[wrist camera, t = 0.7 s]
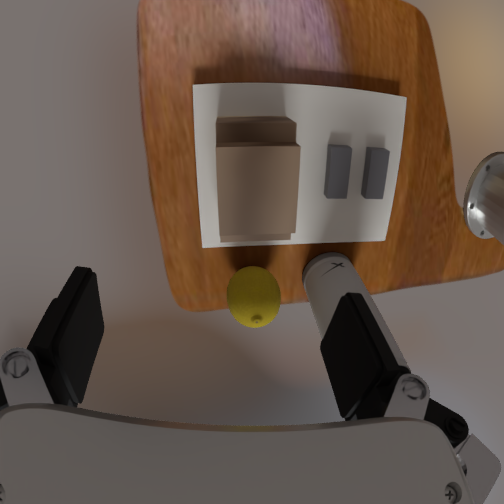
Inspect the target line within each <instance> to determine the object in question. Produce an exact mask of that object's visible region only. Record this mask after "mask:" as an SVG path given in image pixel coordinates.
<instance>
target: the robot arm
mask: <svg viewBox="0 0 504 504" xmlns="http://www.w3.org/2000/svg"><path fill="white" fill-rule="evenodd" d="M464 218H465V222H466V225H467V226H468V228H469V230H470V231H471V232H472V233H474V234H475V235H476V236H477V237H479V238H483V239H488V238H492V237H495V238H496V239H497V240H499V241H500V242H501V243H502V244H503V245H504V152H495V153H492V154H490V155H489V156H487V157H486V158H485V159H483V160H482V161H481V163H480V164H479V165H478V166H477V168H476V169H475V170H474V172H473V174H472V176H471V178H470V180H469V183H468V185H467V189H466V193H465V198H464ZM103 333H104V322H103V316H102V310H101V304H100V298H99V291H98V284H97V276H96V274H95V272H92V270H91V268H87V267H78V266H77V267H75V269H74V271H73V272H72V274H71V276H70V277H69V279H68V280H67V282H66V284H65V286H64V287H63V289H62V291H61V292H60V294H59V296H58V298H55V299H53V300H52V302H51V303H50V305H49V307H48V309H47V310H46V312H45V315H44V316H43V318H42V320H41V322H40V323H39V325H38V327H37V329H36V331H35V333H34V335H33V337H32V339H31V341H30V343H29V345H28V347H27V349H24V348H13V349H10V350H9V351H7V352H6V353H4V355H2V357H1V359H0V504H483V503H484V501H485V499H486V498H487V496H488V494H489V492H490V491H491V489H492V487H493V485H494V484H495V481H496V480H497V478H498V476H499V474H500V471H501V464H500V461H499V460H498V458H497V457H496V456H495V455H494V454H493V453H492V452H491V451H490V450H489V449H488V448H487V447H486V446H485V445H484V444H482V442H481V441H480V440H479V439H477V438H476V437H475V436H474V435H473V434H471V435H468V430H469V429H468V425H467V423H466V421H465V420H464V419H463V417H461V416H460V415H459V414H457V413H455V412H453V411H451V410H450V409H448V408H446V407H445V406H443V405H441V404H439V403H438V402H436V401H434V400H432V399H431V398H429V397H430V390H429V387H428V385H427V383H426V382H425V381H424V380H423V379H422V378H420V377H419V376H417V375H414V374H404V375H402V374H401V372H400V370H401V369H400V367H399V365H398V363H397V361H396V358H395V356H394V354H393V352H392V350H391V348H390V347H389V345H388V343H387V341H386V339H385V337H384V335H383V333H382V331H381V329H380V327H379V325H378V323H377V321H376V319H375V318H374V316H373V314H372V312H371V310H370V308H369V306H368V305H367V303H366V301H365V299H364V297H363V295H362V294H361V293H351V292H347V293H346V294H345V295H344V296H341V298H340V300H339V302H338V305H337V307H336V310H335V312H334V314H333V317H332V319H331V321H330V323H329V326H328V328H327V330H326V333H325V335H324V337H323V339H322V341H321V346H320V350H321V353H322V356H323V360H324V363H325V366H326V369H327V372H328V376H329V379H330V382H331V385H332V389H333V391H334V395H335V399H336V402H337V405H338V408H339V412H340V415H341V416H342V418H345V421H342V422H331V423H320V424H319V423H318V424H303V425H278V426H231V425H206V424H192V423H179V422H168V421H159V420H150V419H143V418H136V417H129V416H122V415H116V414H110V413H103V412H98V411H93V410H88V409H83V408H77V405H78V403H82V401H83V398H84V395H85V391H86V388H87V384H88V381H89V377H90V374H91V370H92V367H93V364H94V361H95V358H96V355H97V351H98V348H99V345H100V342H101V339H102V336H103Z"/></svg>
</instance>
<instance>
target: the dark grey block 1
mask: <svg viewBox="0 0 504 504" xmlns="http://www.w3.org/2000/svg"><path fill="white" fill-rule="evenodd" d="M351 157H352V148H351V147H350V146H348V145H333V144H328V147H327V161H326V173H325V184H324V195H325V197H326V198H327V199H347V192H348V184H349V175H350V166H351Z"/></svg>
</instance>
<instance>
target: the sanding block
mask: <svg viewBox="0 0 504 504" xmlns="http://www.w3.org/2000/svg"><path fill="white" fill-rule="evenodd" d="M296 130H297V123H296V122H294V121H293V120H291V119H290V118H288V117H287V116H223V117H217V119H216V174H217V197H218V218H219V236H220V243H223V242H247V241H273V240H291V233H295V232H296V219H297V204H298V188H299V171H300V152H301V146H300V145H299V144H298V143H296Z"/></svg>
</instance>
